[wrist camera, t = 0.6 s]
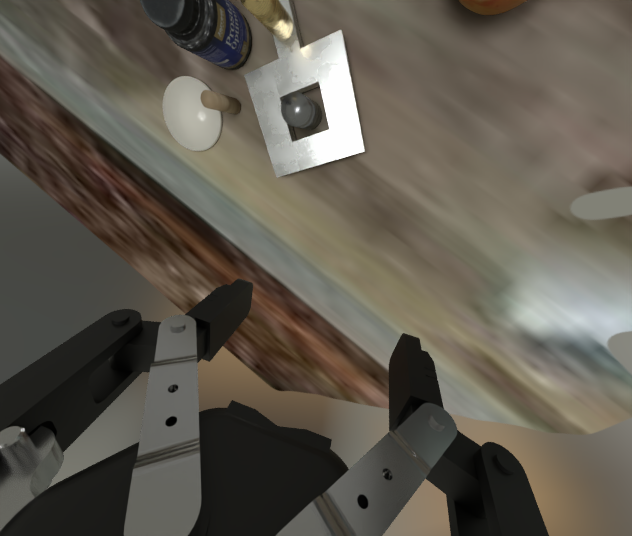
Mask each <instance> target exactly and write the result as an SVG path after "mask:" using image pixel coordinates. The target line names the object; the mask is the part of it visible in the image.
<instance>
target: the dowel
mask: <svg viewBox="0 0 632 536" xmlns="http://www.w3.org/2000/svg"><path fill="white" fill-rule="evenodd" d="M200 98H201V103H202V104H203V106H204V107H206V108H208V109H213V110H218V111H222V112H227V113H232V114H238V113H239V112H240V110H241V104H240V102H239V101H238V100H237V99H235V98H232V97H229V96H225V95H222V94H219V93H216V92H213V91H210V90H204V91H203V92H202V93H201V97H200Z"/></svg>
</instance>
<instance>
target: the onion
mask: <svg viewBox="0 0 632 536" xmlns="http://www.w3.org/2000/svg"><path fill="white" fill-rule="evenodd" d="M526 1H527V0H459V2H460V3H461V4H462V5H463V6H465V7H466V8H467V9H469V10H471V11H473V12H475V13H478V14H481V15H495V14H500V13H504V12H506V11H509V10H511V9H513V8H515V7H517V6H519V5H520V4H522V3H524V2H526Z"/></svg>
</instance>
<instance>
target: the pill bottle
mask: <svg viewBox="0 0 632 536" xmlns="http://www.w3.org/2000/svg"><path fill="white" fill-rule="evenodd" d="M140 2H141V5H142V7H143V9H144V11H145V13H146V15H147V16H148V17H149V19H150V20H151V21H152V22H153V23H155V24H156V25H157V26H159V27H161V28H162V29H164V30H165V31H166V33H167V34H168V36H169V37H170V38H171V39H172V40H173V42H174V43H176V44H177V45H178V46H180V47H181V48H184V49H186V50H188V51H190V52H192V53H194V54H196V55H198V56H200V57H202V58H204V59H206V60H208V61H210V62H212V63H214V64H216V65H218V66H220V67H222V68H224V69H236V68H239V67H240V66H241V65H242V64H244V62H245V61H246V60H247V58H248V55H249V52H250V49H251V33H250V29H249V25H248V23H247V20H246V19H245V17H244V16H243V15H242V13H241V12H240V11H239V10H238V9H237V8H236V7H235V6H234V5H233V4H232V3H231V2H230V1H229V0H140Z"/></svg>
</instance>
